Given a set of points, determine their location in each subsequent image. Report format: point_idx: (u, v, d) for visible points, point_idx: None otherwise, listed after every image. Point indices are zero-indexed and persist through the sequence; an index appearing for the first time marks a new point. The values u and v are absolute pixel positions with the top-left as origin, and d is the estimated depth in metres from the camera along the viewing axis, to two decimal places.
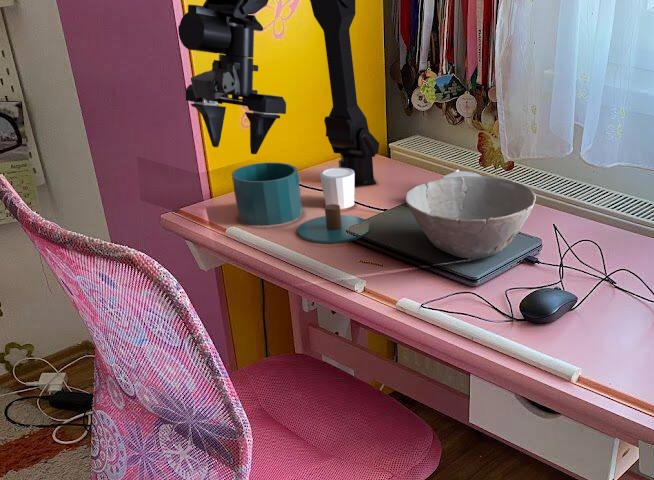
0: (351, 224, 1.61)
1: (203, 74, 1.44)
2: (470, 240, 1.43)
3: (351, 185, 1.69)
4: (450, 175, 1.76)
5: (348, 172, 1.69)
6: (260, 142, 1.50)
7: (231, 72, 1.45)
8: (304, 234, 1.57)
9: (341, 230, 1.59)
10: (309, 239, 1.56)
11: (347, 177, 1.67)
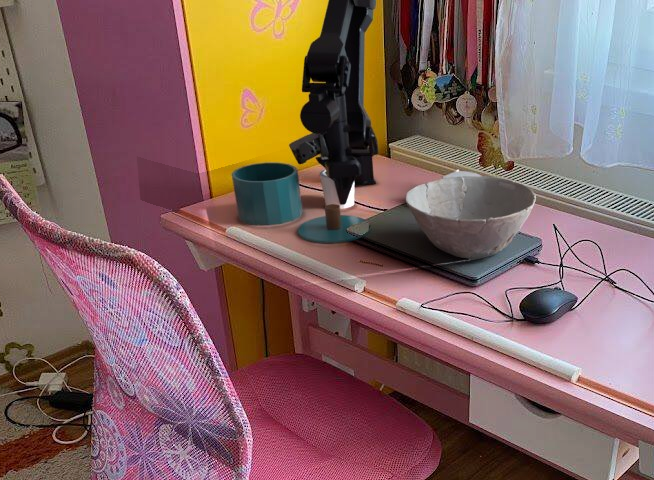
0: (351, 224, 1.61)
1: (301, 139, 1.65)
2: (470, 240, 1.43)
3: None
4: (450, 175, 1.76)
5: None
6: (346, 194, 1.68)
7: (318, 138, 1.63)
8: (304, 234, 1.57)
9: (341, 230, 1.59)
10: (309, 239, 1.56)
11: None
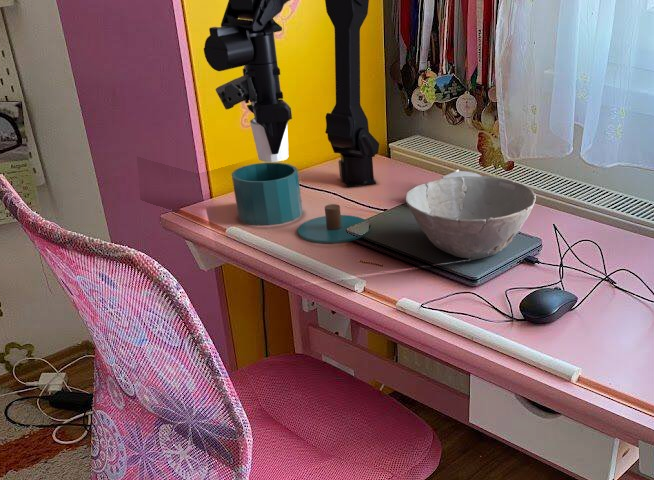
0: (351, 224, 1.61)
1: (229, 83, 1.55)
2: (470, 240, 1.43)
3: (284, 133, 1.59)
4: (450, 175, 1.76)
5: None
6: (278, 143, 1.58)
7: (246, 80, 1.52)
8: (304, 234, 1.57)
9: (341, 230, 1.59)
10: (309, 239, 1.56)
11: None
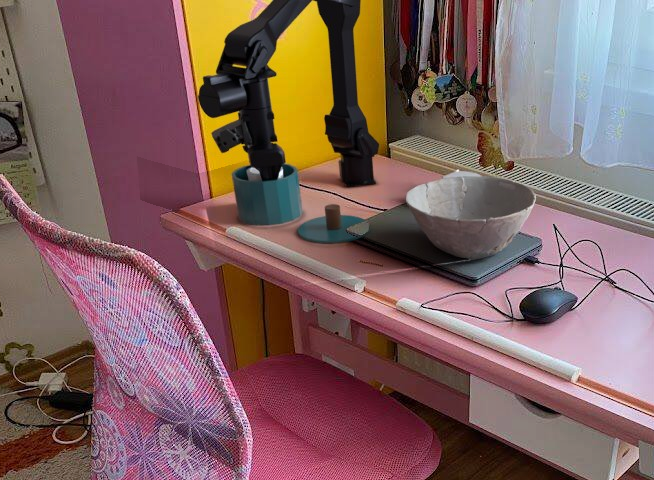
0: (351, 224, 1.61)
1: (224, 126, 1.58)
2: (470, 240, 1.43)
3: None
4: (450, 175, 1.76)
5: None
6: None
7: (241, 125, 1.56)
8: (304, 234, 1.57)
9: (341, 230, 1.59)
10: (309, 239, 1.56)
11: None
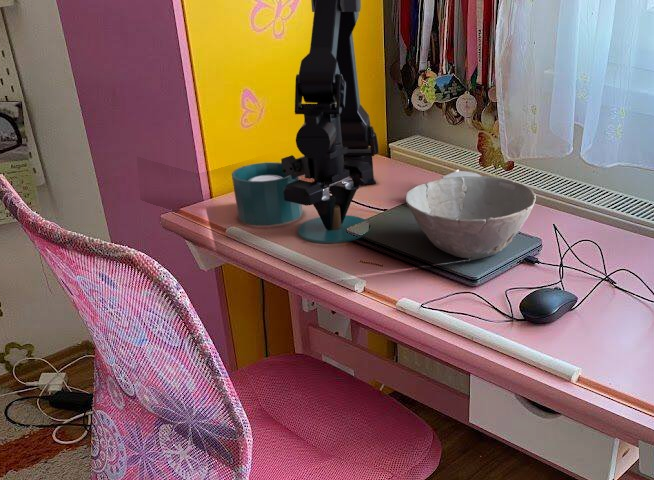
0: (351, 224, 1.61)
1: None
2: (470, 240, 1.43)
3: None
4: (450, 175, 1.76)
5: None
6: (327, 220, 1.57)
7: None
8: (304, 234, 1.57)
9: (341, 230, 1.59)
10: (309, 239, 1.56)
11: None
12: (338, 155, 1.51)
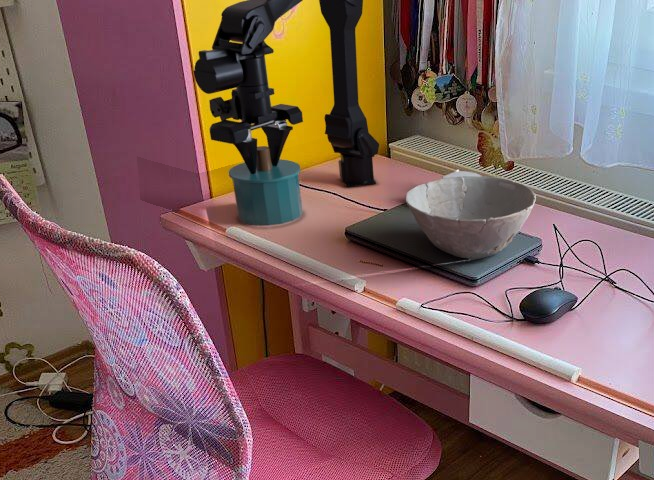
0: (282, 166, 1.65)
1: None
2: (470, 240, 1.43)
3: None
4: (450, 175, 1.76)
5: None
6: (251, 163, 1.59)
7: None
8: (234, 175, 1.61)
9: (271, 171, 1.62)
10: (238, 179, 1.59)
11: None
12: (264, 96, 1.54)
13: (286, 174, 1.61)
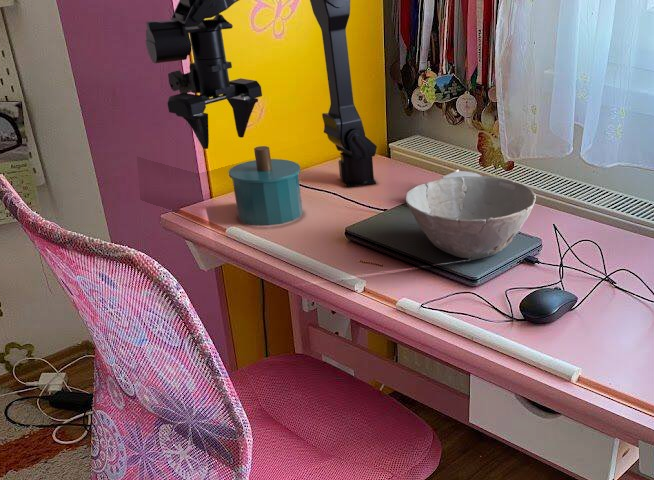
0: (282, 166, 1.65)
1: None
2: (470, 240, 1.43)
3: None
4: (450, 175, 1.76)
5: None
6: (203, 139, 1.61)
7: None
8: (234, 175, 1.61)
9: (271, 171, 1.62)
10: (238, 179, 1.59)
11: None
12: (221, 69, 1.57)
13: (286, 174, 1.61)
